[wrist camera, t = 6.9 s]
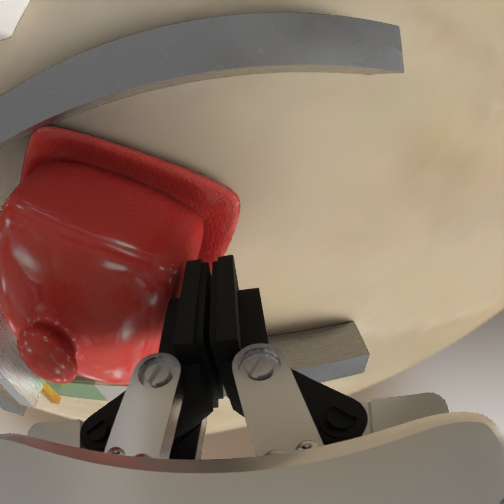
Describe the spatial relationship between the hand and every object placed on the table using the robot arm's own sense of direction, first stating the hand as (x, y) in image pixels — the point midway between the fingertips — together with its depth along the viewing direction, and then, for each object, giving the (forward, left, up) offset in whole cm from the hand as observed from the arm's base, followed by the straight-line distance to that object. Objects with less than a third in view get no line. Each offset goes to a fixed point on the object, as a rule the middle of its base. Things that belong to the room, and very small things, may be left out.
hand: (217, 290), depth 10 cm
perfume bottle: (-16, -10, -4) cm, 20 cm away
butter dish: (0, -6, -5) cm, 8 cm away
